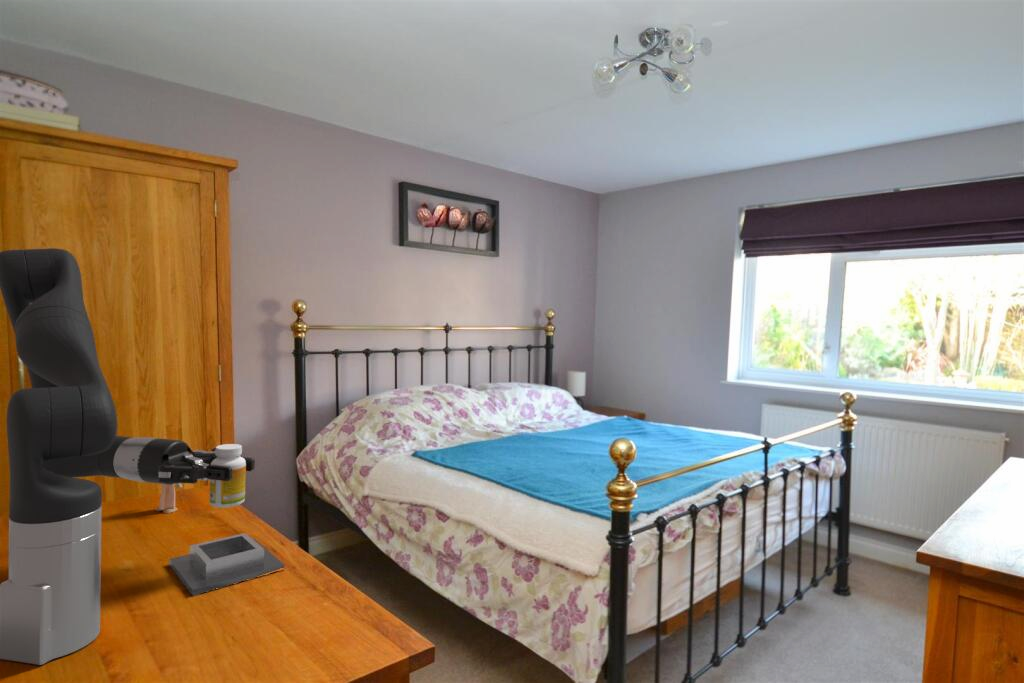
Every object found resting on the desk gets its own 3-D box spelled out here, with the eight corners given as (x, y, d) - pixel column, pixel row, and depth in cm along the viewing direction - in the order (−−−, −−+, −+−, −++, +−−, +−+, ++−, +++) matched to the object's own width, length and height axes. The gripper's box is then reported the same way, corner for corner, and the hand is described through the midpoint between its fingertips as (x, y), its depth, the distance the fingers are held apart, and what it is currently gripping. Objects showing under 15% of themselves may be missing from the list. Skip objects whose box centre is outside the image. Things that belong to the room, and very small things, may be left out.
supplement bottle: (251, 499, 97) (253, 443, 97) (233, 509, 92) (234, 451, 91) (222, 496, 98) (223, 441, 97) (202, 506, 92) (203, 448, 92)
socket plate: (284, 570, 95) (284, 550, 95) (192, 596, 85) (193, 573, 85) (254, 544, 105) (254, 525, 105) (169, 564, 95) (169, 544, 95)
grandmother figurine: (146, 511, 119) (147, 452, 119) (162, 505, 123) (163, 448, 122) (174, 516, 117) (175, 456, 117) (189, 510, 121) (191, 452, 120)
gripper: (118, 448, 89) (214, 457, 87) (184, 430, 103) (268, 438, 101) (117, 494, 90) (213, 505, 87) (183, 470, 104) (266, 479, 101)
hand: (242, 469), depth 94 cm, fingers closed on supplement bottle, 5 cm apart
